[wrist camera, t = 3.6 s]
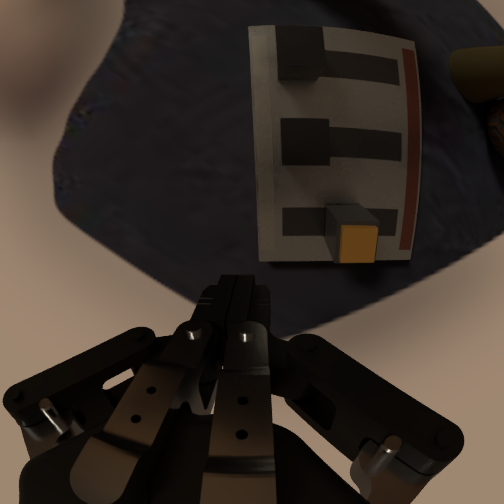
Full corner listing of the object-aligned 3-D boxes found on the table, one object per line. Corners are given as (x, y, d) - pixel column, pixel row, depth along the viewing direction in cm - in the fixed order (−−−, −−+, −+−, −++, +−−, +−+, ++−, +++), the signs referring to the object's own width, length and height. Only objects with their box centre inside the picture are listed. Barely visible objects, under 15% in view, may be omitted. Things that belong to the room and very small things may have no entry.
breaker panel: (405, 47, 17) (438, 27, 11) (402, 251, 25) (430, 282, 19) (250, 34, 18) (241, 3, 12) (260, 252, 26) (255, 287, 20)
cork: (494, 103, 17) (567, 107, 7) (457, 103, 18) (535, 101, 8) (480, 51, 15) (546, 37, 5) (440, 47, 16) (510, 21, 6)
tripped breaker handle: (361, 205, 21) (382, 224, 17) (359, 240, 22) (377, 266, 18) (326, 204, 21) (338, 223, 17) (324, 240, 23) (335, 267, 18)
